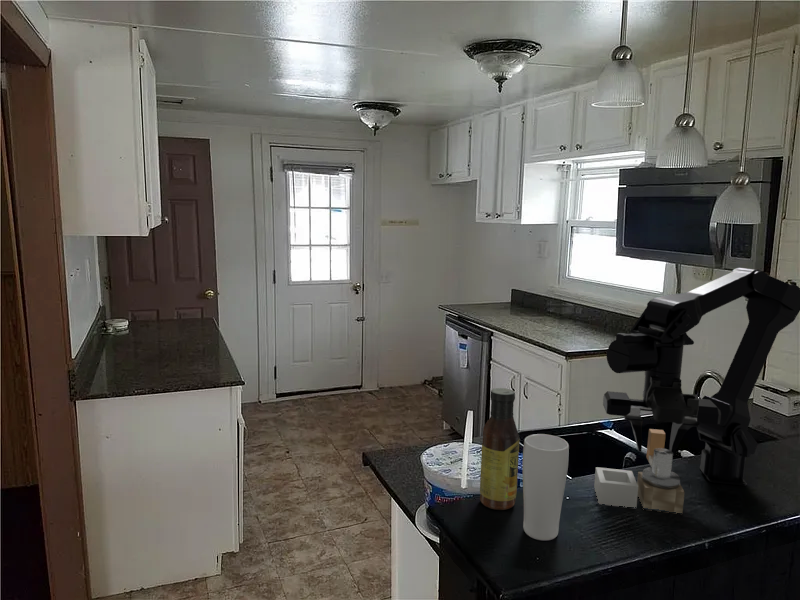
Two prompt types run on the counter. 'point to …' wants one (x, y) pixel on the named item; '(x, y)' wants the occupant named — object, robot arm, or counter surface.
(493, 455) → the sauce bottle
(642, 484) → the birch socket block
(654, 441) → the tan and grey l-block
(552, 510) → the drinking glass
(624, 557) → the counter surface
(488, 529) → the counter surface
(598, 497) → the grey block
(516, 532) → the counter surface
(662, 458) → the grey flanged peg
